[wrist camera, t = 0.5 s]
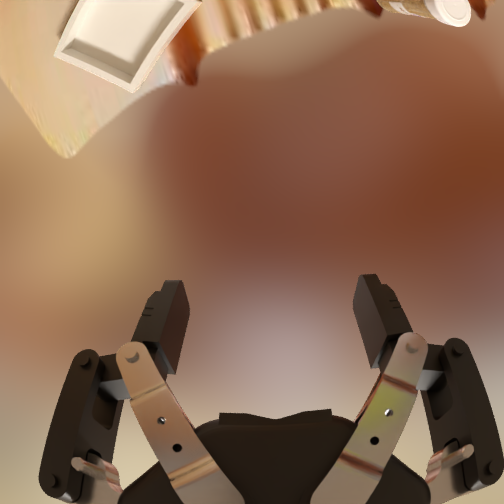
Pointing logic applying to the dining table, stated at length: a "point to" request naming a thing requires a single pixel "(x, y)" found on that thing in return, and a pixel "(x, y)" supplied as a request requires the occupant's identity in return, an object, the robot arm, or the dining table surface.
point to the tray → (122, 37)
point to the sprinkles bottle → (432, 9)
